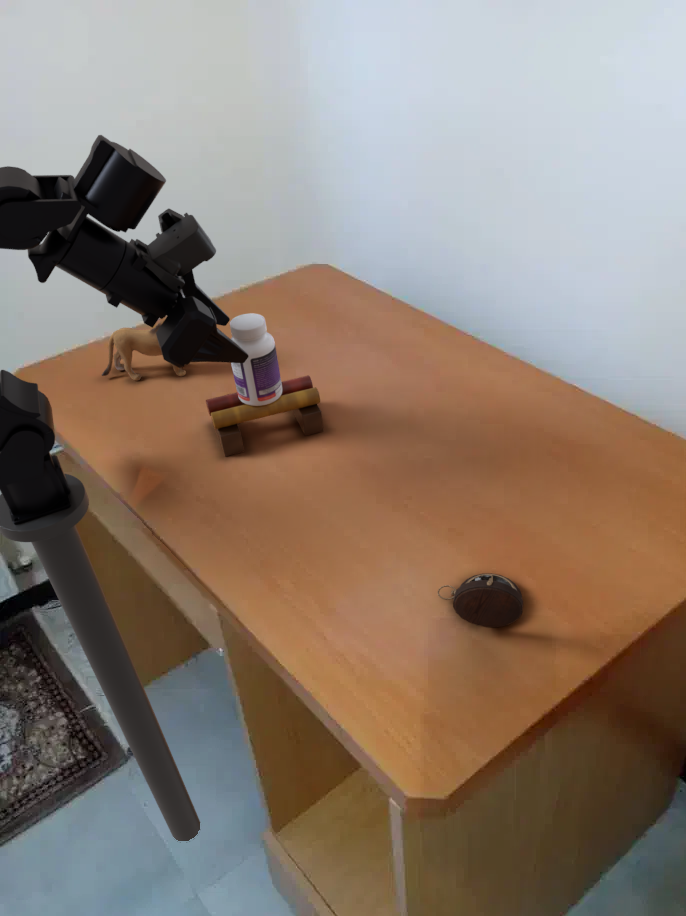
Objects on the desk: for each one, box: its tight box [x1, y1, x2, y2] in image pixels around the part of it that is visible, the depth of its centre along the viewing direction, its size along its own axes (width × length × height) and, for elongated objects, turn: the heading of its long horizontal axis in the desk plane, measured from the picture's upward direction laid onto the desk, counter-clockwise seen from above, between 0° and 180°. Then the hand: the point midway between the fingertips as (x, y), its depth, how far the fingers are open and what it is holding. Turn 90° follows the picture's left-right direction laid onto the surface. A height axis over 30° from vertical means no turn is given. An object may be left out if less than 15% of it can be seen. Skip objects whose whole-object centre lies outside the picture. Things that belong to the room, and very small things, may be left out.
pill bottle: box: [229, 312, 282, 406], centre depth 92 cm, size 5×5×10 cm
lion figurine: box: [101, 317, 187, 382], centre depth 107 cm, size 15×5×9 cm, turn 103°
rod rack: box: [205, 374, 325, 458], centre depth 97 cm, size 13×7×5 cm, turn 111°
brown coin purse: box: [437, 572, 524, 628], centre depth 73 cm, size 8×8×7 cm
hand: (236, 339), depth 89 cm, fingers open, 9 cm apart
